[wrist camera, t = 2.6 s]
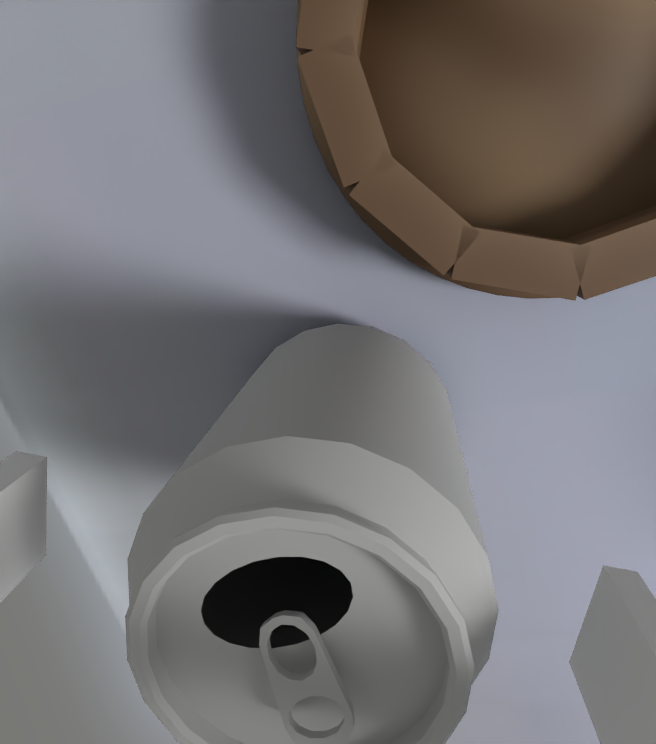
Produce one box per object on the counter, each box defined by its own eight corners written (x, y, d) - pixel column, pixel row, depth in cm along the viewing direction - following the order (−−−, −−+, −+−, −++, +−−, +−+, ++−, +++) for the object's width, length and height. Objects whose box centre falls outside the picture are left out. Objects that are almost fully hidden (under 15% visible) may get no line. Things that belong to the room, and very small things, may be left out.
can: (407, 285, 20) (422, 416, 8) (479, 473, 21) (572, 794, 10) (215, 361, 21) (6, 556, 10) (296, 529, 23) (197, 861, 12)
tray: (344, -322, 15) (331, -441, 12) (944, -257, 14) (1081, -370, 11) (273, 252, 20) (252, 262, 17) (721, 329, 19) (778, 353, 16)
